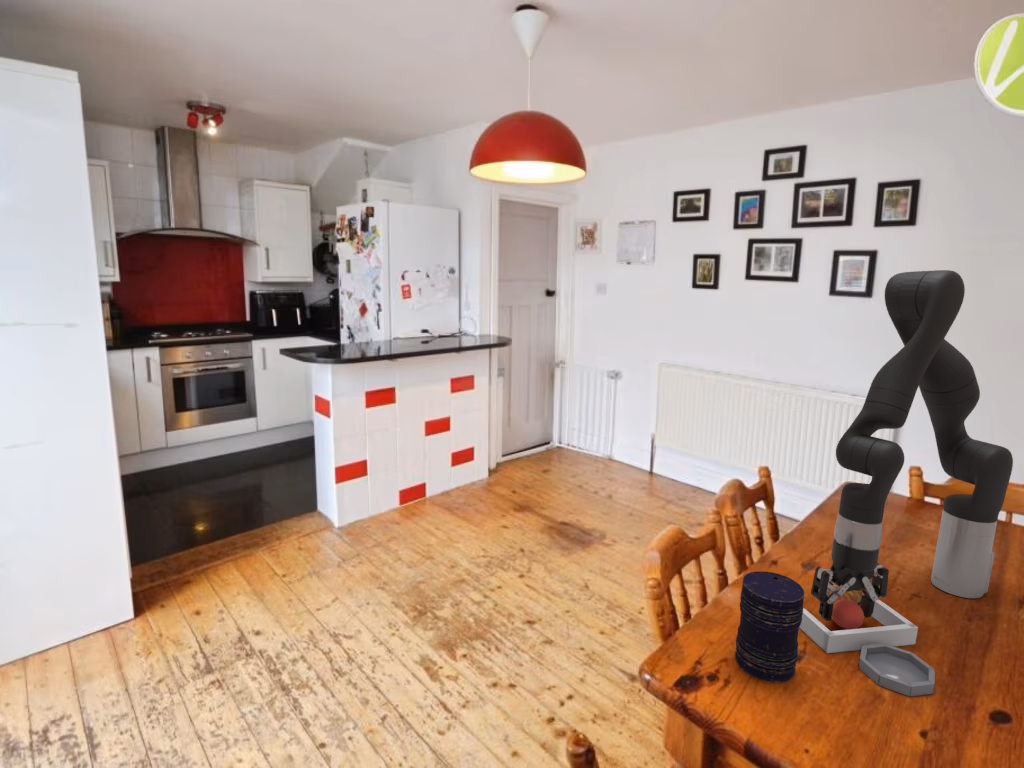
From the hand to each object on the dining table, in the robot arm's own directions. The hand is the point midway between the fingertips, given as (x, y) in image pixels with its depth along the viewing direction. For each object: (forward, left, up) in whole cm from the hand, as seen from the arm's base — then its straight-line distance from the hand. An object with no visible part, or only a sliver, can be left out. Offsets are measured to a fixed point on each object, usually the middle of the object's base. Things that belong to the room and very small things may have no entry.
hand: (845, 617), depth 110 cm
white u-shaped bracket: (0, +2, -2) cm, 3 cm away
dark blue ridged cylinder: (+22, +8, -2) cm, 23 cm away
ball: (0, 0, -2) cm, 2 cm away
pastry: (-7, -9, -3) cm, 12 cm away
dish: (+1, +13, -2) cm, 13 cm away
